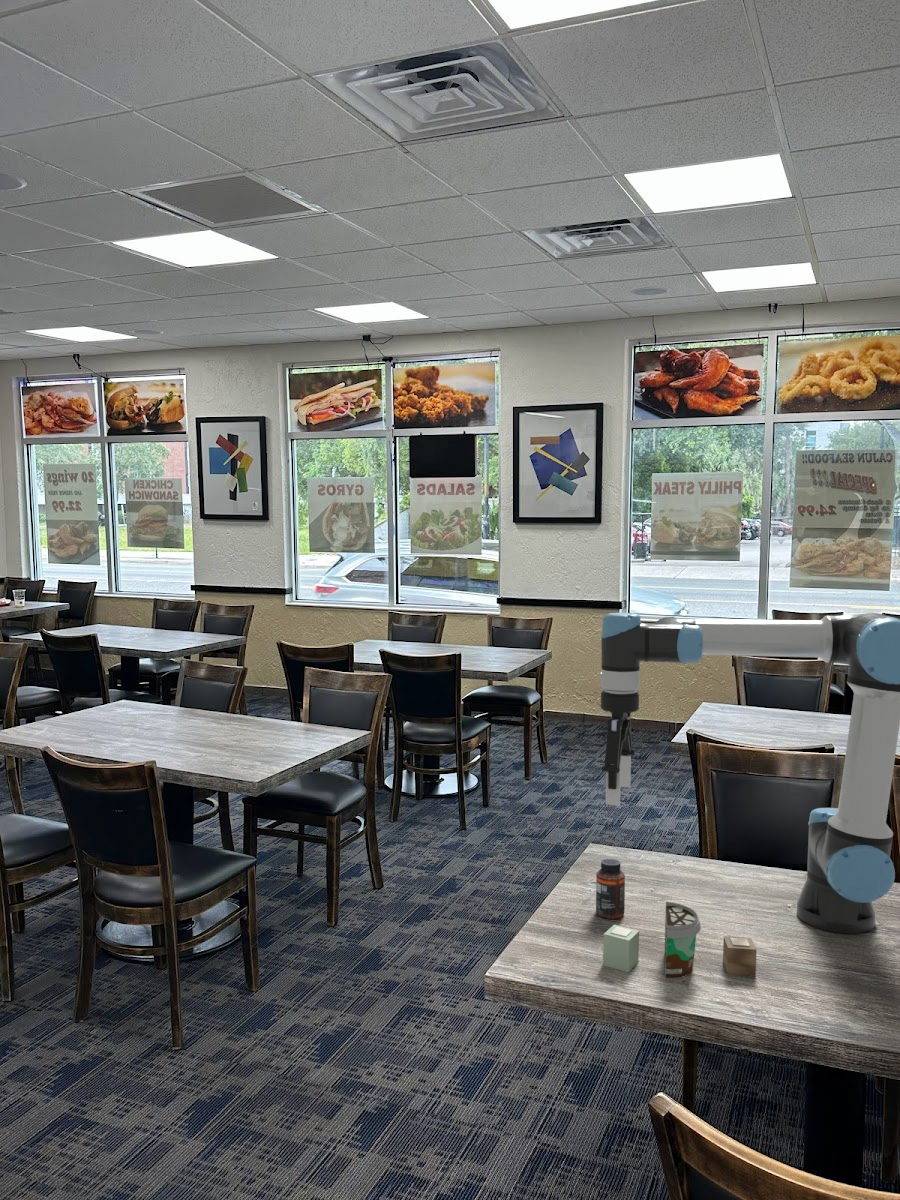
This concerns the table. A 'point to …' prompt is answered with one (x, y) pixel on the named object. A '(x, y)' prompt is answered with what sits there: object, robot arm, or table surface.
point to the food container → (680, 939)
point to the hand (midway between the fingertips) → (618, 795)
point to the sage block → (621, 948)
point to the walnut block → (739, 956)
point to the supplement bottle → (610, 890)
